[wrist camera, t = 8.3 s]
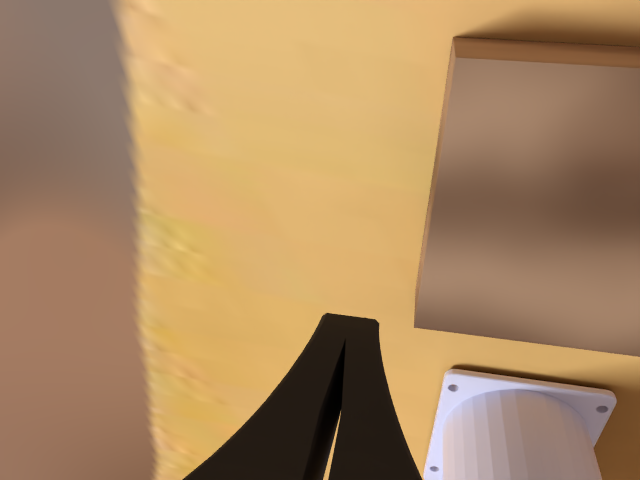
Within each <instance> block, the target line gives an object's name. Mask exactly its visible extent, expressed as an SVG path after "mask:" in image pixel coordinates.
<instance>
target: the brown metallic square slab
mask: <svg viewBox="0 0 640 480" xmlns="http://www.w3.org/2000/svg"><path fill="white" fill-rule="evenodd" d="M414 328H422V329H430V330H437V331H445V332H453V333H461V334H468V335H476V336H484V337H492V338H499V339H507V340H515V341H522V342H530V343H538V344H546V345H553V346H561V347H569V348H577V349H584V350H592V351H600V352H608V353H615V354H623V355H631V356H638V357H640V47H631V46H612V45H593V44H575V43H556V42H537V41H519V40H500V39H481V38H463V37H453V41H452V47H451V54H450V61H449V68H448V74H447V81H446V88H445V95H444V101H443V108H442V115H441V122H440V128H439V135H438V142H437V149H436V155H435V162H434V169H433V176H432V182H431V189H430V196H429V203H428V209H427V216H426V223H425V230H424V236H423V243H422V250H421V257H420V263H419V270H418V277H417V284H416V293H415V316H414Z"/></svg>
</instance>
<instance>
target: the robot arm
mask: <svg viewBox="0 0 640 480" xmlns="http://www.w3.org/2000/svg"><path fill="white" fill-rule="evenodd" d="M452 384H454V385H452ZM616 403H617V400H616V397H615V394H614V393H613V392H612V391H609V390H605V389H597V388H590V387H583V386H576V385H568V384H561V383H554V382H547V381H540V380H532V379H525V378H518V377H511V376H504V375H496V374H489V373H482V372H475V371H467V370H460V369H450V370H448V371H446V373H445V375H444V379H443V384H442V388H441V393H440V398H439V402H438V407H437V412H436V416H435V421H434V426H433V430H432V435H431V440H430V444H429V449H428V454H427V458H426V463H425V468H424V479H425V480H602V477H601V473H600V470H599V466H598V463H597V459H596V455H595V452H594V446H595V444H596V442H597V440H598V438H599V436H600V434H601V432H602V431H603V429H604V427H605V425H606V423H607V421H608V419H609V417H610V415H611V413H612V411H613V409H614V407H615V405H616ZM340 412H341V416H340ZM339 416H340V422H339V427H338V433H337V438H336V443H335V448H334V454H333V459H332V464H331V469H330V474H329V479H328V480H422V478H421V476H420V474H419V471H418V469H417V467H416V464H415V462H414V460H413V458H412V455H411V453H410V450H409V448H408V445H407V443H406V440H405V438H404V435H403V432H402V429H401V427H400V424H399V421H398V418H397V415H396V412H395V409H394V405H393V402H392V399H391V395H390V392H389V388H388V384H387V380H386V376H385V372H384V367H383V362H382V356H381V350H380V342H379V323H378V322H377V321H376V320H375V319H368V318H361V317H353V316H346V315H338V314H331V313H326V314H325V315H323V316H322V318H321V320H320V322H319V324H318V326H317V328H316V330H315V332H314V334H313V335H312V337H311V339H310V340H309V342H308V344H307V345H306V347H305V348H304V350H303V352H302V353H301V354H300V356H299V357H298V359H297V360H296V362H295V363H294V365H293V366H292V367H291V369H290V370H289V372H288V373H287V374H286V376H285V377H284V378H283V380H282V381H281V382H280V383H279V385H278V386H277V387H276V388H275V390H274V391H273V392H272V393H271V395H270V396H269V397H268V398H267V400H266V401H265V402H264V403H263V404H262V405H261V406H260V408H259V409H258V410H257V411H256V412H255V413H254V414H253V415H252V416H251V417H250V419H249V420H248V421H247V422H246V423H245V424H244V425H243V426H242V427H241V428H240V429H239V430H238V431H237V432H236V433H235V434H234V435H233V436H232V437H231V438H230V439H229V440H228V441H227V442H226V443H225V444H224V445H222V446H221V447H220V448H219V449H218V450H217V451H216V452H215V453H214V454H213V455H212V456H210V457H209V458H208V459H207V460H206V461H205V462H203V463H202V464H201V465H200V466H198V467H197V468H196V469H195V470H194V471H192V472H191V473H190V474H189V475H188V476H186V477H185V478H184V479H183V480H323V477H324V473H325V470H326V466H327V462H328V458H329V454H330V450H331V447H332V443H333V439H334V435H335V431H336V427H337V424H338V420H339Z"/></svg>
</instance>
